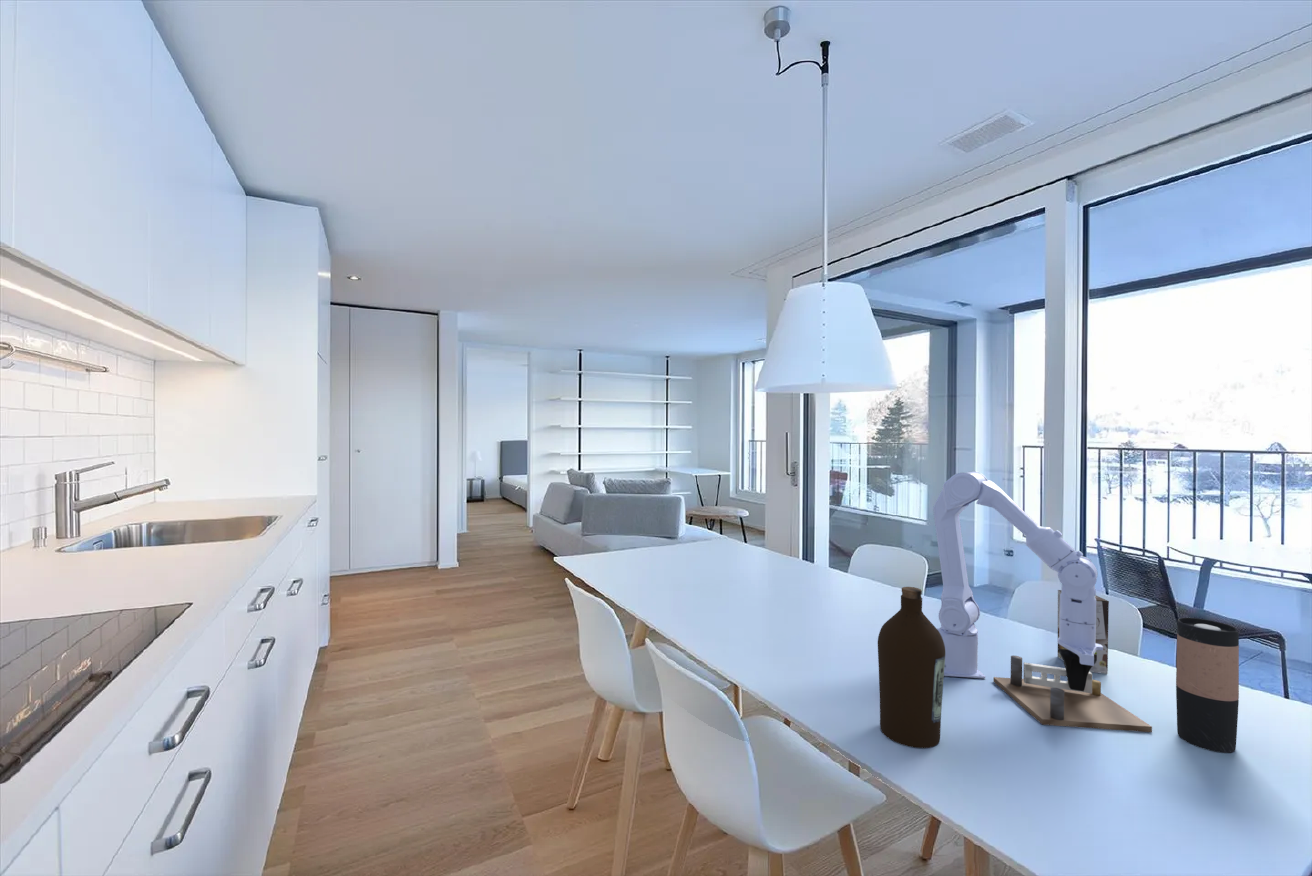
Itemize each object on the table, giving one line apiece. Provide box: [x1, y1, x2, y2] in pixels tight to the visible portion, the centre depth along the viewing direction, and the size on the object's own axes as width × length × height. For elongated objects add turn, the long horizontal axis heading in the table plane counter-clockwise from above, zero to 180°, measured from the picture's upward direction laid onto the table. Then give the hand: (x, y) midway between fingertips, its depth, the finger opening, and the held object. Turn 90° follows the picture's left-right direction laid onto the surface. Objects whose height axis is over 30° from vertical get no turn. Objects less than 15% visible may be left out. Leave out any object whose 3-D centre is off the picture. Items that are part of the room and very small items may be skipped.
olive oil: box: [877, 586, 945, 749], centre depth 96 cm, size 11×11×25 cm
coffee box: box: [1057, 589, 1110, 675], centre depth 128 cm, size 9×6×16 cm
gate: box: [1023, 662, 1093, 693], centre depth 112 cm, size 11×1×4 cm, turn 68°
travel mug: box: [1175, 617, 1240, 754], centre depth 96 cm, size 8×8×20 cm
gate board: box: [993, 655, 1153, 733], centre depth 108 cm, size 18×18×6 cm
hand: (1076, 689), depth 110 cm, fingers closed
